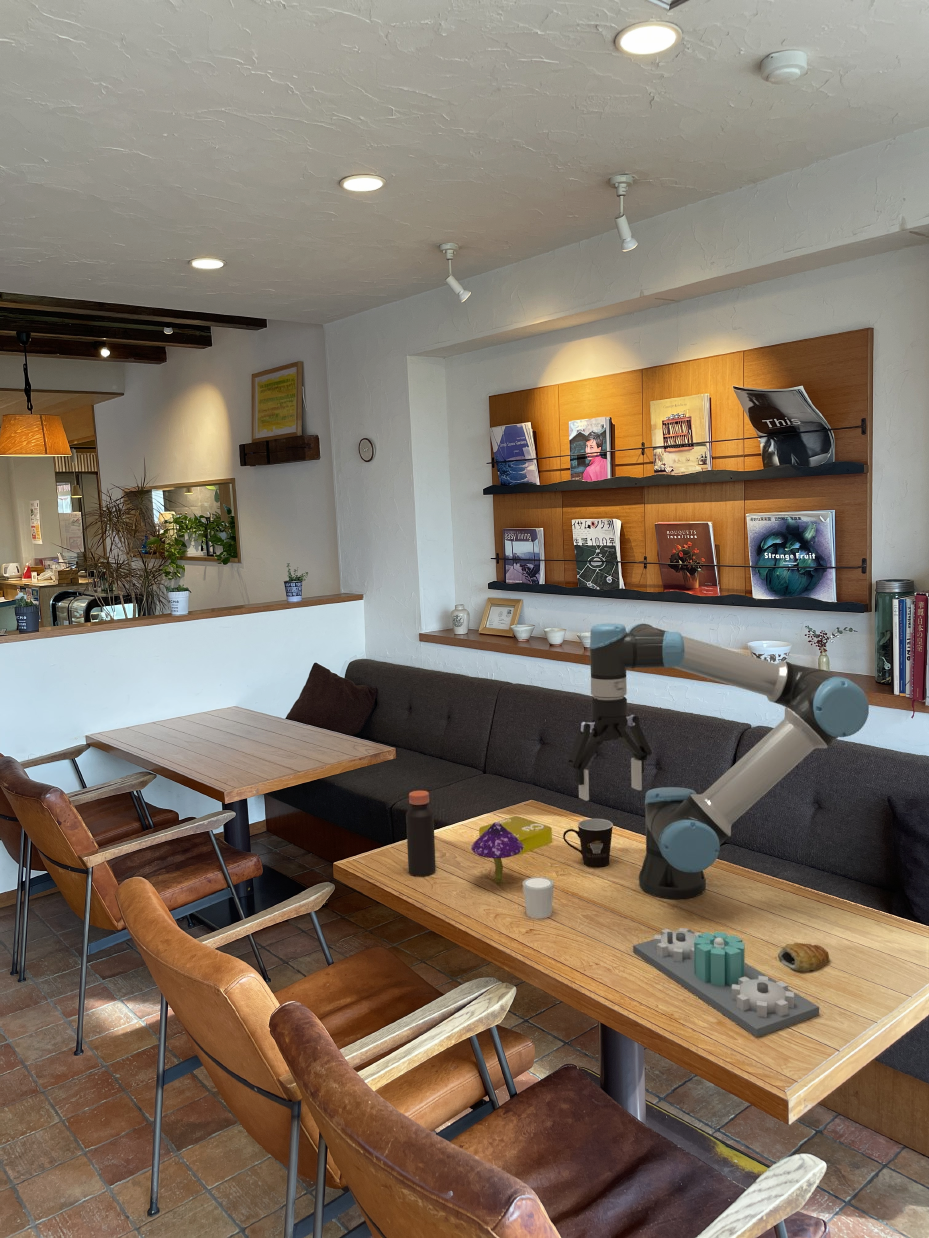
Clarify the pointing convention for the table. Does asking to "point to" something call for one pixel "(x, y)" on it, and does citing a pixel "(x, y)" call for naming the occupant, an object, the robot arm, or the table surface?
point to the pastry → (803, 956)
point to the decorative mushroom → (497, 846)
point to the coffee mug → (594, 841)
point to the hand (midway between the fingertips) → (610, 793)
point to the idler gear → (719, 959)
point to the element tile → (525, 832)
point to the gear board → (728, 986)
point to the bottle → (420, 835)
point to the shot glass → (538, 897)
